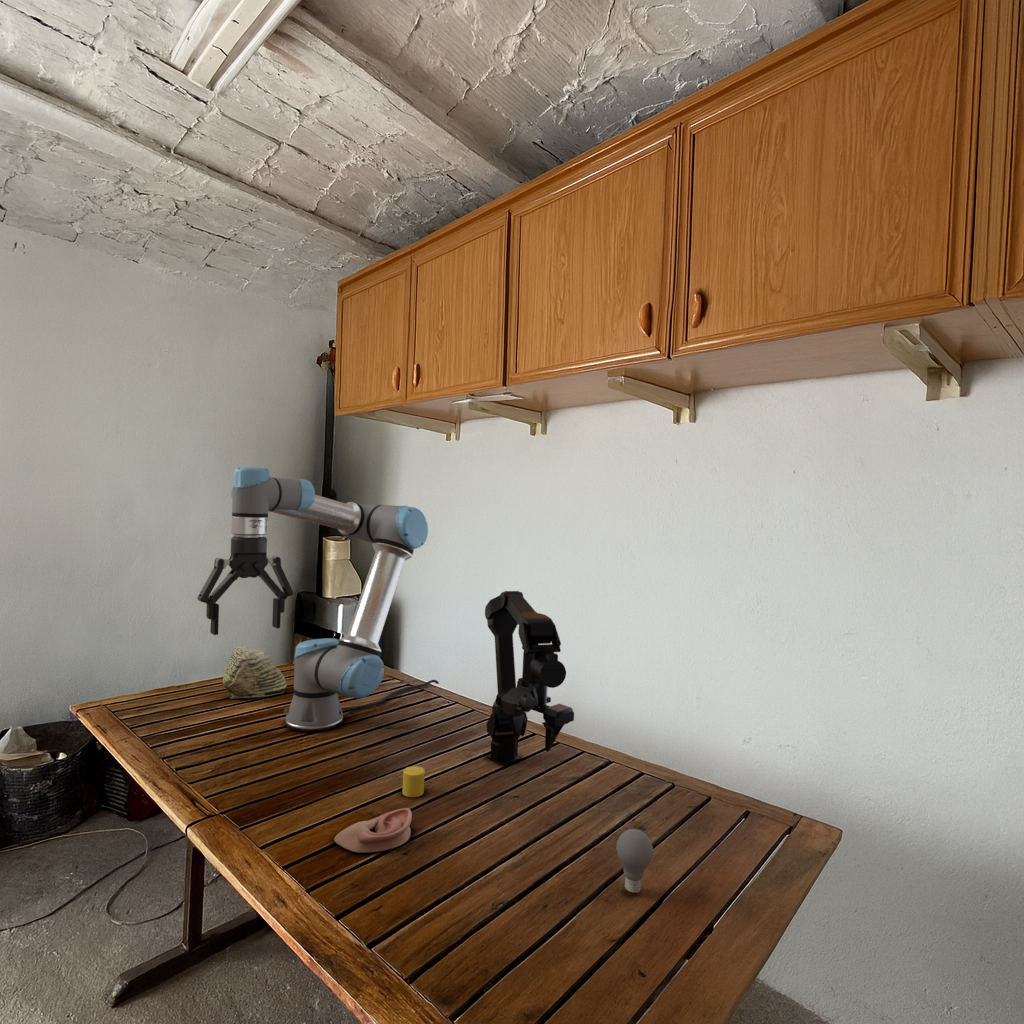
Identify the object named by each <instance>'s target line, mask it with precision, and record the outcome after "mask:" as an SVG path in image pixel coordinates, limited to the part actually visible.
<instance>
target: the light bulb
mask: <svg viewBox="0 0 1024 1024" xmlns="http://www.w3.org/2000/svg"><path fill="white" fill-rule="evenodd" d="M615 849H616V854H617V857H618V859H619V861H620V863H621V865H622V867H623V873H624V874H623V875H624V876H625V878H624V888H625V890H627V891H628V892H630V893H634V894H635V893H639V892H640V891H641V889H642V887H641V886H642V879H643V877H644V875H645V871H646V868H647V867H648V866H649V864H650V863H651V861H652V859H653V855H654V847H653V843H652V841H651V838H649V836H648V835H647V834H646V833H645V832H643V831H642V830H641V829H636V828H629V829H627V830H625V831H623V832H622V833H621V834H620V835H619V837H618V839H617V841H616V847H615Z"/></svg>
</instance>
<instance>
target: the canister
mask: <svg viewBox="0 0 1024 1024" xmlns="http://www.w3.org/2000/svg"><path fill="white" fill-rule="evenodd" d="M425 772H426V770H425V768H424V767H421V766H418V765H412V766H411V765H410V766H408V767H407V766H406V767H405V768H404V769H403V771H402V791H401V792H402V795H403V796H405V797H409V798H417V797H420V796H422V795H424V793H425V774H426V773H425Z"/></svg>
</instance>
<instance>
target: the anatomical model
mask: <svg viewBox="0 0 1024 1024" xmlns="http://www.w3.org/2000/svg"><path fill="white" fill-rule="evenodd" d="M412 819H413V813H412V811H411V809H410V808H408V807H404V808H398V809H395V810H392V811H388V812H385V813H384V814H380V815H379V816H377V817H374V818H372V819H369V820H362V821H358V822H354V823H353V824H351V825H348V826H347V827H346V828H344V829H341V831H340V832H338V833H337V834H336V835H335V837H334V839H333V840H334V842H335V843H336V844H337V845H338V846H339V847H341V848H343V849H346V850H348V851H350V852H353V853H359V854H364V853H376V852H383V851H387V850H391V849H395V848H398V847H399V846H402V845H404V844H405V843H406V842H408V841H409V840H410V838H411V833H412V831H411V827H410V825H411V824H412Z"/></svg>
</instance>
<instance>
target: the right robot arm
mask: <svg viewBox="0 0 1024 1024" xmlns="http://www.w3.org/2000/svg"><path fill="white" fill-rule="evenodd" d="M484 616H485V619H486V623H487V628H488V629H489V631H490V632H491V634H492V635H493V637H494V651H495V666H496V668H495V669H496V670H495V671H496V685H497V693H496V696H495V700H494V702H493V703H492V706H491V713H490V716H489V718H488V719H487V722H486V733H487V734H488V735H489V737H490V738H491V742H490V753H489V754H487V755H486V758H487V759H489V760H490V761H493V762H495V763H498V764H499V765H502V766H508V765H511V764H513V763H515V762H518V761H521V760H522V759H523V756H521V755H519V754H518V752H519V739H520V737H521V736H522V737H524V736H525V734H526V730H527V725H528V719H529V718H528V716H527V713H530V711H534V712H536V713H540V714H542V719H543V720H544V721H543V722H541V725H542V726H543V727H544V729H545V736H544V738H545V739H544V747H545V752H550V751H551V749H552V747H553V745H554V743H555V742H556V740H557V737H558V736H559V734H560V732H561V730H562V729H563V727H564V726H565V725H568V724H569V723H572V722H575V710H574V709H573V708H572V706H568V705H565V704H563V703H557V704H554V705H548V704H549V703H551V702H552V697H551V696H548V688H551V689H554V688H558V687H559V686H561V685H562V684H563V683H564V681H565V679H566V677H567V670H566V667H565V664H564V663H563V662H562V661H560V660H559V655H558V653H561V645H562V643H561V639H560V635H559V633H558V629H557V626H556V624H555V622H554V621H553V619H552V618H551V617H550V616H548V615H546V614H544V613H539V612H537V611H536V610H535V609H534V608H533V607H532V605H531V604H530V603H529V602H528V601H527V599H525V597H524V593H523V592H521V591H519V590H505V591H502V592H501V593H500V594H499V595H498V596H496V597H493V598H492V599H489V601H488V603H486V605H485V608H484ZM517 627H518V638H519V640H520V643H521V649H522V650H523V652H522V672H521V673H522V675H521V677H519V678H517V679H518V680H517V679H516V677H517V676H516V663H515V647H514V633H515V631H516V629H517Z"/></svg>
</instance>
